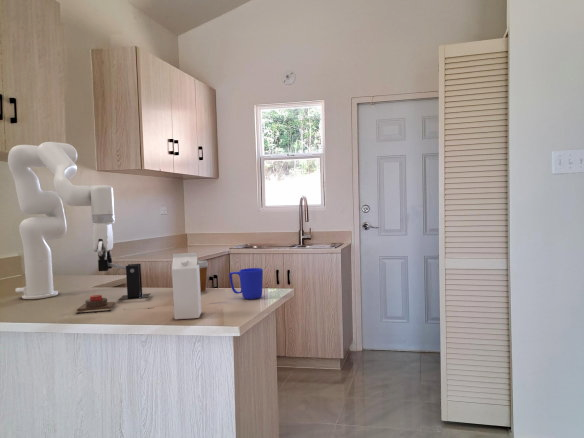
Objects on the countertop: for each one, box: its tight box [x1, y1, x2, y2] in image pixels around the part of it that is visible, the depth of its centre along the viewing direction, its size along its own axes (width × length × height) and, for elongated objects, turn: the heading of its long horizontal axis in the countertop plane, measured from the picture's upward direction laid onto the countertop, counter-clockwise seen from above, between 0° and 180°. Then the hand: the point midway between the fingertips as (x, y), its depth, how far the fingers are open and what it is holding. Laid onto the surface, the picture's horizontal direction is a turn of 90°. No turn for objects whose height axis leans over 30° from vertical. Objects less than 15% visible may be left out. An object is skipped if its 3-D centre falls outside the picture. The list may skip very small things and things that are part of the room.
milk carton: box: [171, 252, 202, 320], centre depth 140 cm, size 7×7×19 cm
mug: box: [228, 267, 264, 300], centre depth 164 cm, size 8×12×10 cm
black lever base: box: [118, 263, 151, 301], centre depth 170 cm, size 10×8×13 cm
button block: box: [76, 297, 116, 315], centre depth 155 cm, size 10×8×4 cm
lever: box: [108, 262, 127, 271], centre depth 169 cm, size 12×5×2 cm, turn 99°
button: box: [89, 294, 103, 301], centre depth 155 cm, size 4×4×2 cm
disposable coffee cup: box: [198, 259, 209, 292], centre depth 178 cm, size 10×10×12 cm
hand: (105, 269), depth 169 cm, fingers closed on lever, 5 cm apart
